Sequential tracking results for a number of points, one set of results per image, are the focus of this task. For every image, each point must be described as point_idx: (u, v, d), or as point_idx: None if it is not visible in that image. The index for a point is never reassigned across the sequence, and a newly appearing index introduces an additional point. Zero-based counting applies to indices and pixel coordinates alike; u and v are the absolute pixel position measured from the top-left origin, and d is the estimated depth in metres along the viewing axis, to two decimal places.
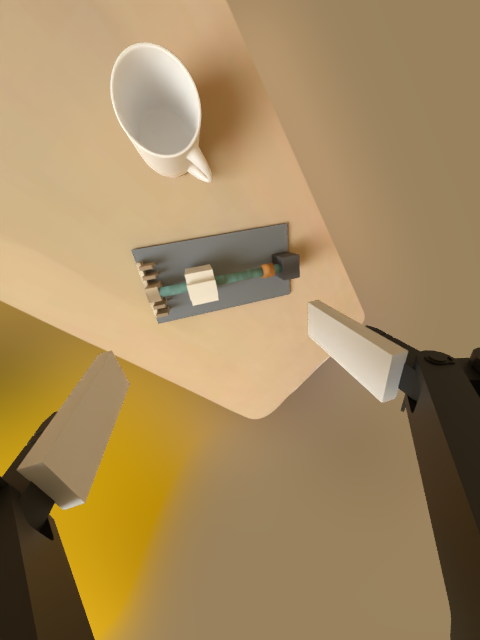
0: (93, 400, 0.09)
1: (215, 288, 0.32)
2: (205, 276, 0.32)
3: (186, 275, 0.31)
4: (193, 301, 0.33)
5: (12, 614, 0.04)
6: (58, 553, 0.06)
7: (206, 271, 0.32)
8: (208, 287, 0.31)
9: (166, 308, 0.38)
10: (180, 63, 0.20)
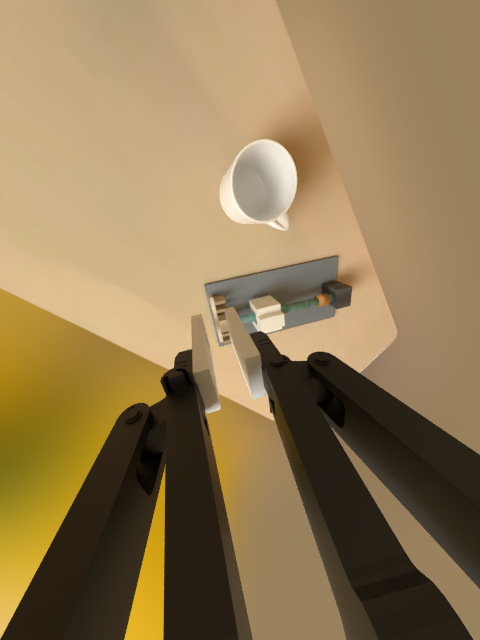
0: (206, 344, 0.12)
1: (283, 320, 0.36)
2: (273, 310, 0.36)
3: (258, 309, 0.35)
4: None
5: (200, 473, 0.06)
6: (211, 448, 0.08)
7: (275, 305, 0.36)
8: (277, 320, 0.36)
9: None
10: (286, 152, 0.24)
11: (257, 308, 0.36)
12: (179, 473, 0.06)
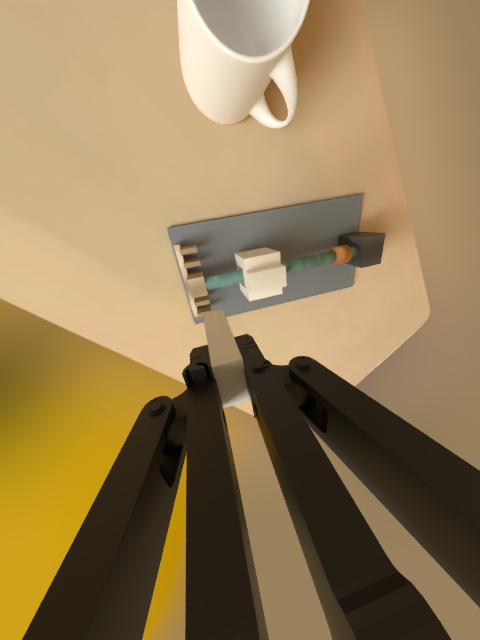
0: None
1: (284, 277, 0.23)
2: (269, 261, 0.24)
3: (246, 260, 0.23)
4: (251, 295, 0.25)
5: (220, 466, 0.06)
6: (229, 442, 0.08)
7: (272, 254, 0.23)
8: (275, 276, 0.23)
9: (207, 305, 0.30)
10: None
11: (244, 258, 0.23)
12: (200, 464, 0.06)
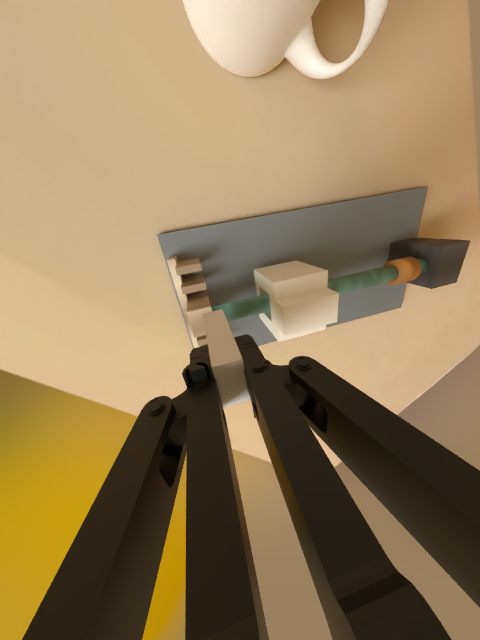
0: None
1: (335, 310, 0.15)
2: (312, 285, 0.16)
3: (277, 284, 0.15)
4: (281, 333, 0.17)
5: (220, 467, 0.06)
6: (229, 442, 0.08)
7: (316, 275, 0.15)
8: (323, 308, 0.15)
9: None
10: None
11: (274, 281, 0.15)
12: (200, 464, 0.06)
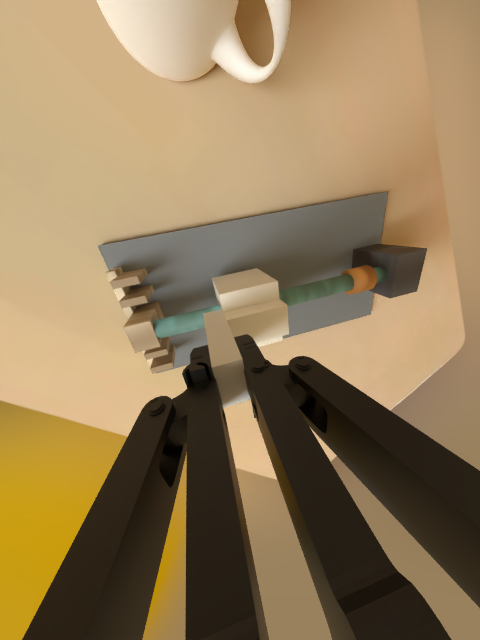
0: None
1: (285, 322, 0.15)
2: (262, 296, 0.15)
3: (223, 295, 0.14)
4: None
5: (220, 466, 0.06)
6: (229, 442, 0.08)
7: (265, 285, 0.15)
8: (271, 321, 0.14)
9: (169, 350, 0.21)
10: None
11: (221, 292, 0.15)
12: (200, 464, 0.06)
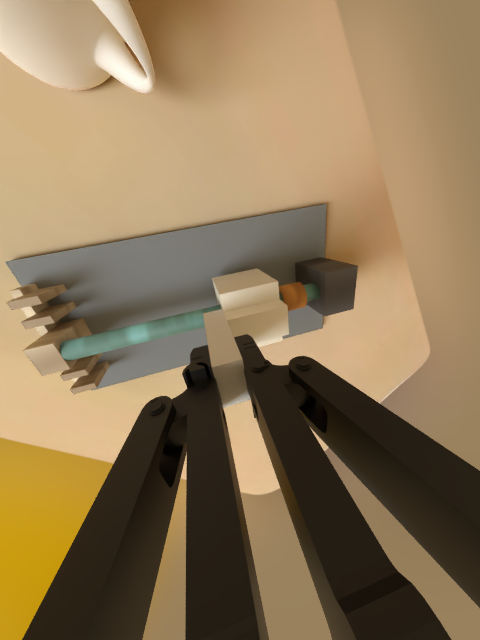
0: None
1: (285, 322, 0.15)
2: (262, 296, 0.15)
3: (223, 295, 0.14)
4: None
5: (220, 467, 0.06)
6: (229, 442, 0.08)
7: (265, 286, 0.15)
8: (271, 321, 0.14)
9: (99, 368, 0.20)
10: None
11: (222, 292, 0.15)
12: (200, 464, 0.06)
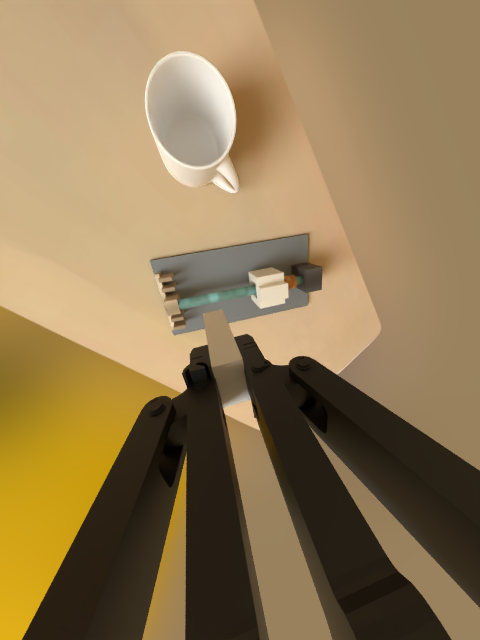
0: None
1: (286, 291, 0.32)
2: (276, 279, 0.32)
3: (258, 278, 0.31)
4: (261, 304, 0.33)
5: (220, 467, 0.06)
6: (229, 442, 0.08)
7: (277, 274, 0.32)
8: (280, 290, 0.31)
9: (183, 320, 0.37)
10: (218, 73, 0.19)
11: (257, 277, 0.31)
12: (200, 464, 0.06)
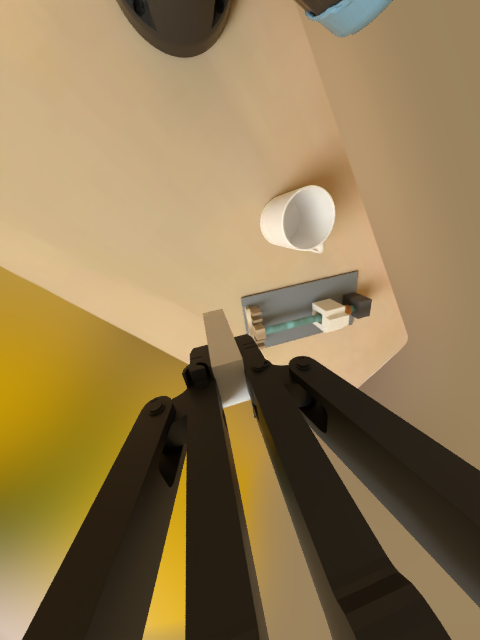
0: None
1: (347, 320, 0.42)
2: (339, 311, 0.42)
3: (327, 311, 0.41)
4: (326, 329, 0.43)
5: (220, 467, 0.06)
6: (229, 443, 0.08)
7: (340, 308, 0.42)
8: (343, 320, 0.42)
9: None
10: (328, 194, 0.29)
11: (325, 310, 0.42)
12: (200, 464, 0.06)
